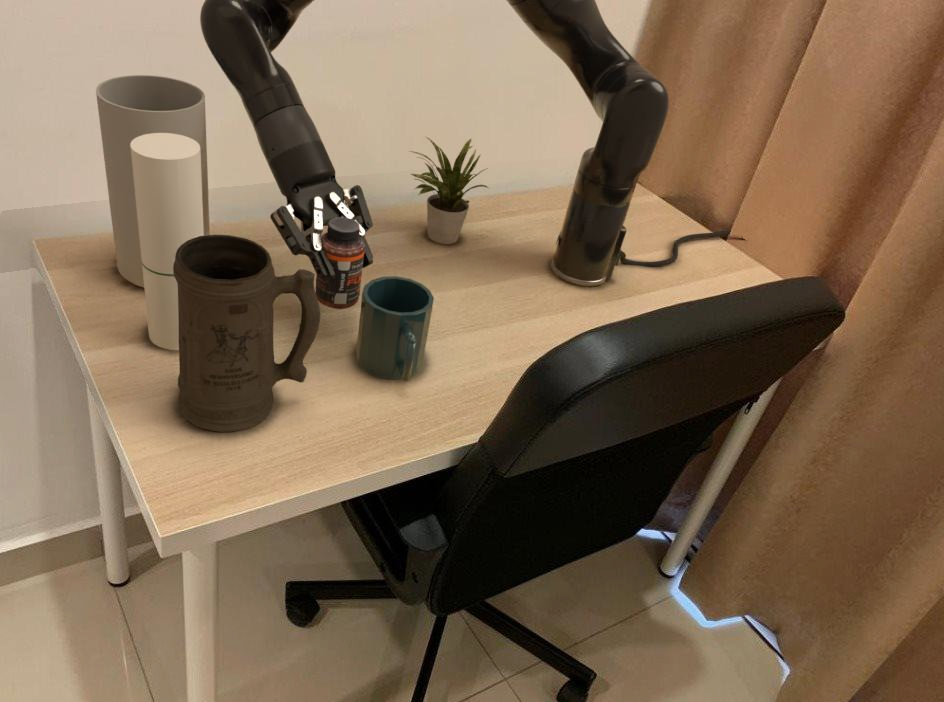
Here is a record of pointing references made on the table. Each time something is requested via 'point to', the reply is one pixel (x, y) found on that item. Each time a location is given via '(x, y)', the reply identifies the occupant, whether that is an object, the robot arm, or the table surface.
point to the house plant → (447, 195)
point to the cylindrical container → (165, 221)
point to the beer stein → (235, 330)
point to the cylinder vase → (132, 115)
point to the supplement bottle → (342, 264)
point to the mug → (393, 327)
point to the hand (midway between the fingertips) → (349, 272)
